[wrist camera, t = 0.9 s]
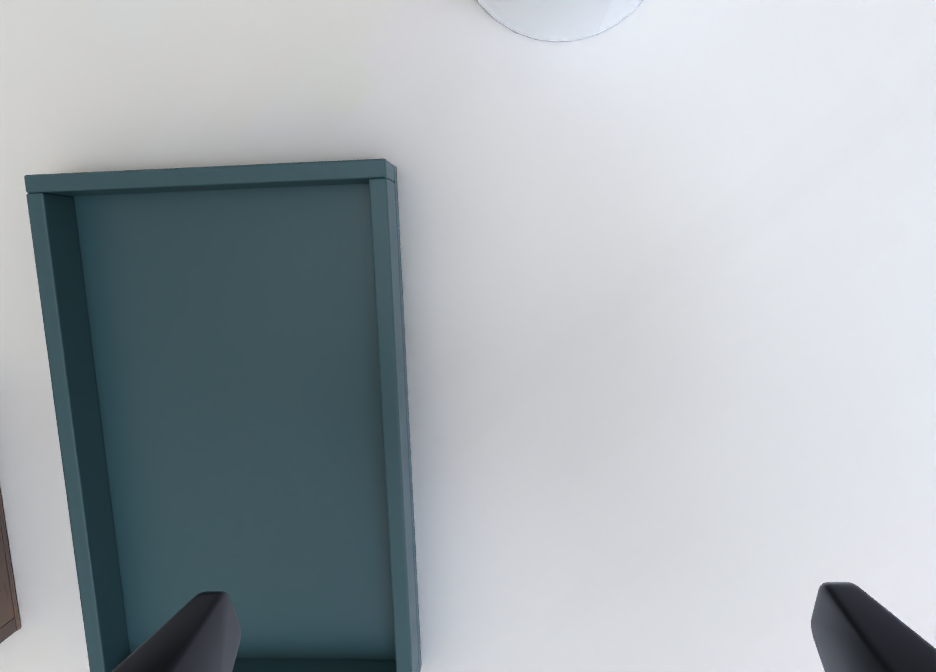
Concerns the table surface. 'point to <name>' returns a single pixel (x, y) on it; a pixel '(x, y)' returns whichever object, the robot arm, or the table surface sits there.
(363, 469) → the tray
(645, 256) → the table surface
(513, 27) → the cylindrical container
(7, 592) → the open box
